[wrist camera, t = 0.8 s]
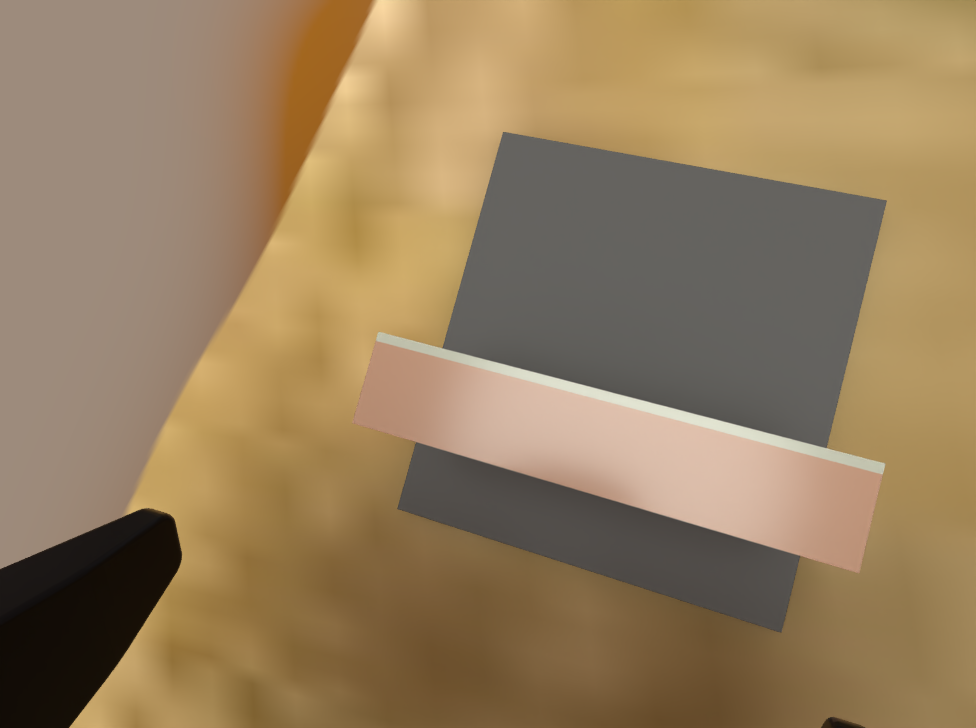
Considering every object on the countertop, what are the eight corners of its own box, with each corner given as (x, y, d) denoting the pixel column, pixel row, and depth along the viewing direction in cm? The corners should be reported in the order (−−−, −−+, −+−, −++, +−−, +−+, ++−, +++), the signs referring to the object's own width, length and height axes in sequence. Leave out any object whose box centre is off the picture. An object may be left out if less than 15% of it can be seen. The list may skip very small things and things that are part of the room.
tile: (769, 523, 20) (859, 572, 12) (450, 430, 22) (352, 422, 14) (786, 456, 20) (885, 464, 12) (466, 371, 22) (378, 331, 14)
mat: (776, 627, 20) (781, 632, 19) (403, 507, 23) (397, 508, 22) (879, 207, 21) (886, 200, 20) (506, 139, 24) (503, 131, 23)
